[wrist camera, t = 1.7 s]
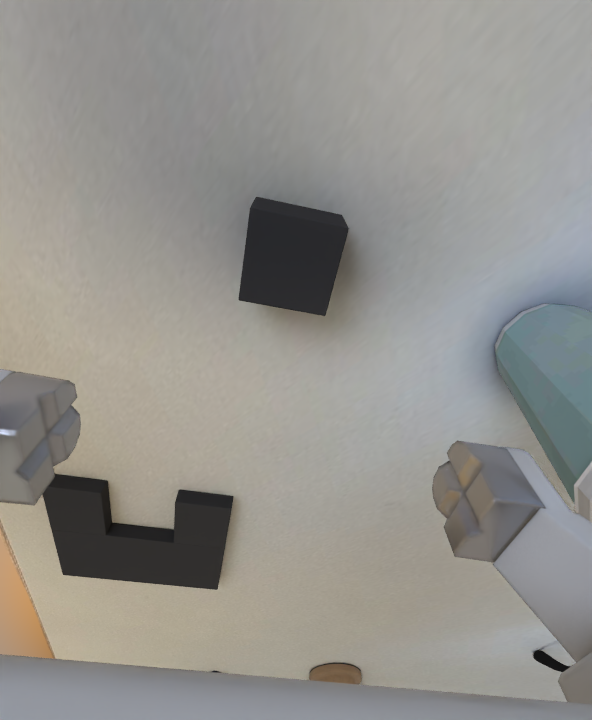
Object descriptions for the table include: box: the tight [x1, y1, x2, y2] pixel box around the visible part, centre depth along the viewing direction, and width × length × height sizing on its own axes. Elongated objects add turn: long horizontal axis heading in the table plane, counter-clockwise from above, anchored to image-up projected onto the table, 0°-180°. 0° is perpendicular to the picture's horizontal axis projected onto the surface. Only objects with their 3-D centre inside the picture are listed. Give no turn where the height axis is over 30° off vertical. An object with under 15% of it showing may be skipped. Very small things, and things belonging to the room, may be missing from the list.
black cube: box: [239, 197, 349, 316], centre depth 23 cm, size 6×6×4 cm
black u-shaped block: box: [43, 474, 233, 590], centre depth 41 cm, size 18×16×2 cm
